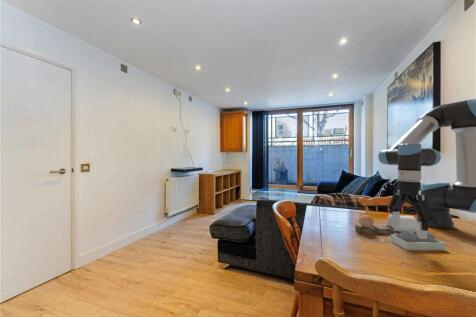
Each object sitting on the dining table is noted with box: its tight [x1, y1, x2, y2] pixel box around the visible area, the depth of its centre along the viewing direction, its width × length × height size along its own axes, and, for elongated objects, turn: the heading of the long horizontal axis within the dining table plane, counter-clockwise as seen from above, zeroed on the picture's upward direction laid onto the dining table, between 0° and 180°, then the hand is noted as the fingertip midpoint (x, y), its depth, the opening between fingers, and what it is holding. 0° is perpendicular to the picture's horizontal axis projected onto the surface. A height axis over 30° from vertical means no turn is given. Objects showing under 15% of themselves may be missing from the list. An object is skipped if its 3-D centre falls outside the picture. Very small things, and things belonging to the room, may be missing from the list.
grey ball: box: [415, 231, 436, 242], centre depth 87 cm, size 6×6×6 cm
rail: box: [354, 224, 395, 235], centre depth 102 cm, size 16×4×4 cm, turn 89°
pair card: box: [366, 238, 388, 245], centre depth 92 cm, size 8×6×1 cm
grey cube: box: [398, 231, 417, 242], centre depth 87 cm, size 6×6×6 cm
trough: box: [390, 233, 446, 251], centre depth 87 cm, size 15×9×4 cm, turn 90°
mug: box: [386, 214, 418, 234], centre depth 107 cm, size 12×10×8 cm
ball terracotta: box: [358, 214, 374, 228], centre depth 102 cm, size 6×6×6 cm
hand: (408, 231), depth 87 cm, fingers open, 13 cm apart
